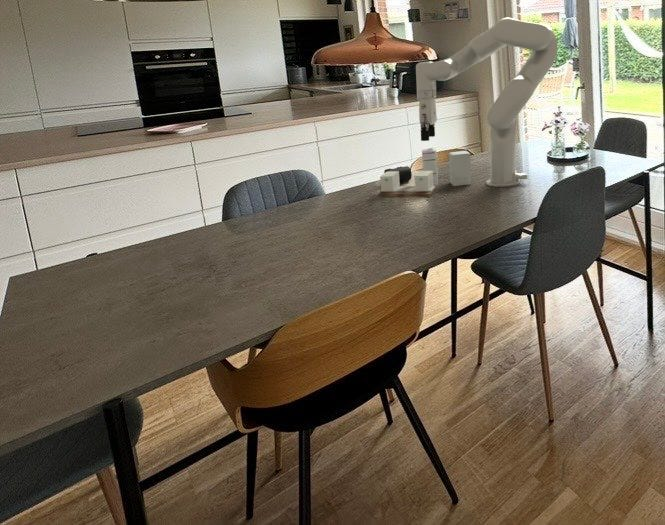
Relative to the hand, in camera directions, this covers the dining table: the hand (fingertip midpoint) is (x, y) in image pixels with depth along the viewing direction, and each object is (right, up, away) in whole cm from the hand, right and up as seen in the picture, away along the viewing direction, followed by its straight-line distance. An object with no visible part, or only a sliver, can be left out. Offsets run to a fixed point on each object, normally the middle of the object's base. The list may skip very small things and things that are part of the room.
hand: (428, 138), depth 229 cm
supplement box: (+14, -18, +3) cm, 23 cm away
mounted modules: (-9, -21, -4) cm, 23 cm away
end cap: (-10, -16, +15) cm, 24 cm away
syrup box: (+2, -18, +7) cm, 19 cm away
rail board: (-9, -22, -3) cm, 24 cm away
